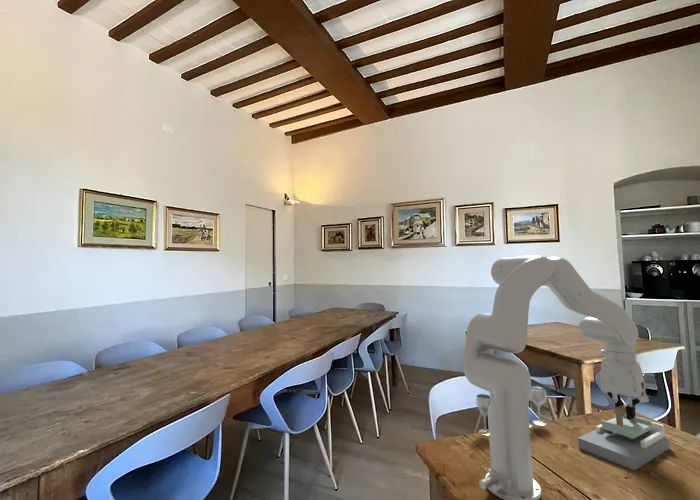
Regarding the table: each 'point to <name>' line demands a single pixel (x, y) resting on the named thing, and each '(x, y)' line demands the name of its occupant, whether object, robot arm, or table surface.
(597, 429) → the dock
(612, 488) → the table surface
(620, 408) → the mint green tray
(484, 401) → the goblet set
